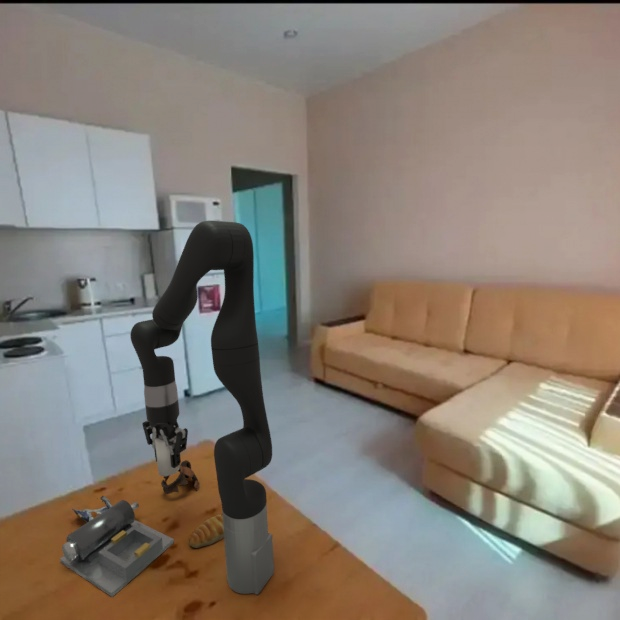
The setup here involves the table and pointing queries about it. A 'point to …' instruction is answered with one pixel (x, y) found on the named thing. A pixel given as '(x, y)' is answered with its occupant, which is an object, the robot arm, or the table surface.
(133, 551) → the motor unit
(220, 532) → the pastry
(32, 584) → the table surface
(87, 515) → the snack package
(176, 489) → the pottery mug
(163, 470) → the white cylinder roll
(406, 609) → the table surface
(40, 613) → the table surface
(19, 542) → the table surface
